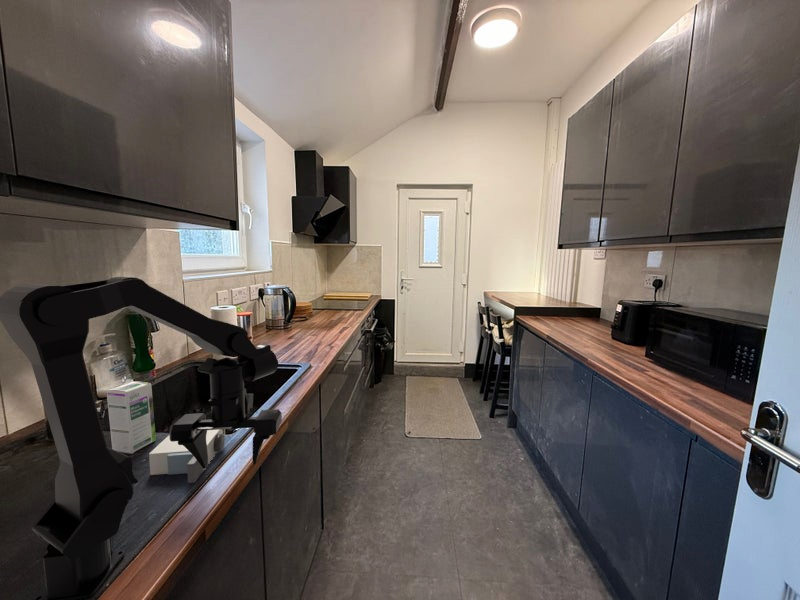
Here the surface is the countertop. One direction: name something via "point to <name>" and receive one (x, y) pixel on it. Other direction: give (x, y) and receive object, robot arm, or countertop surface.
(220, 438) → the camera housing
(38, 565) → the countertop surface
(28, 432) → the countertop surface
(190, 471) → the grey l-shaped block
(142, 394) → the syrup box
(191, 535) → the countertop surface
